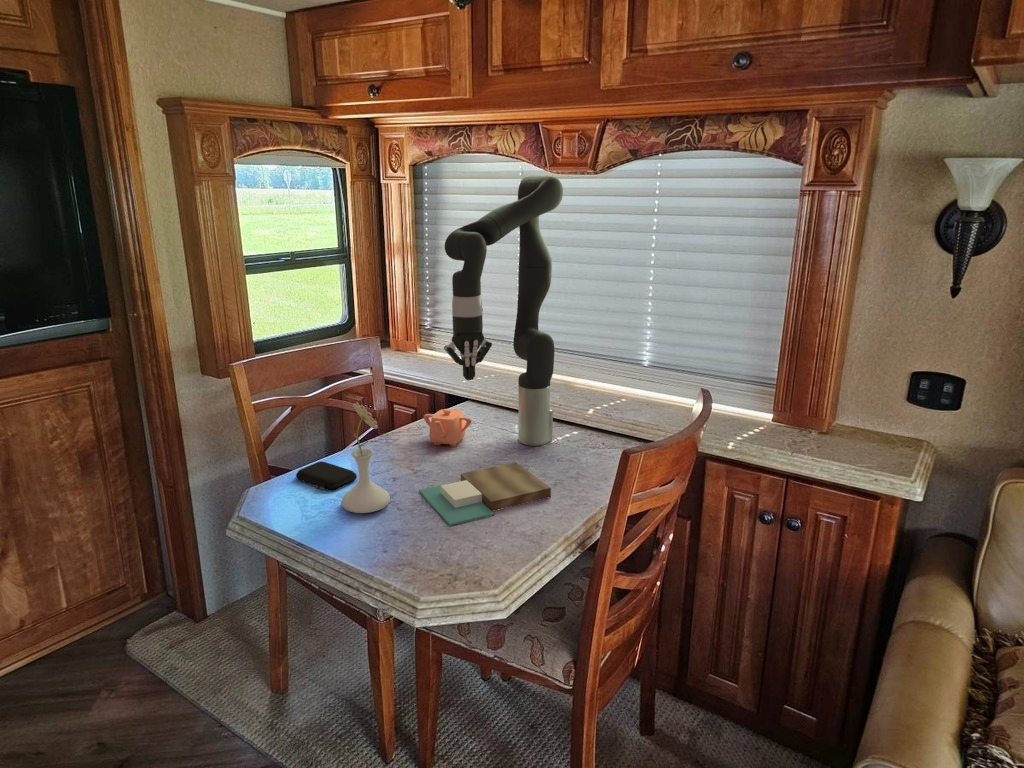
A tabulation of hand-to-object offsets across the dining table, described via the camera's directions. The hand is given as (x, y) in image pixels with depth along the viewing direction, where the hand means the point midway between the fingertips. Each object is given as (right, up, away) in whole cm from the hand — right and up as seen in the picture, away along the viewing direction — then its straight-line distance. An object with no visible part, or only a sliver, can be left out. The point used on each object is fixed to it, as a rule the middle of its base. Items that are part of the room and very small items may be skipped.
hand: (469, 379), depth 176 cm
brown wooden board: (+9, -28, -6) cm, 30 cm away
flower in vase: (-24, -30, -13) cm, 41 cm away
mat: (-3, -30, -13) cm, 32 cm away
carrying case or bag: (-37, -27, 0) cm, 46 cm away
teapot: (-8, -19, +26) cm, 33 cm away
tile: (-1, -29, -11) cm, 31 cm away
